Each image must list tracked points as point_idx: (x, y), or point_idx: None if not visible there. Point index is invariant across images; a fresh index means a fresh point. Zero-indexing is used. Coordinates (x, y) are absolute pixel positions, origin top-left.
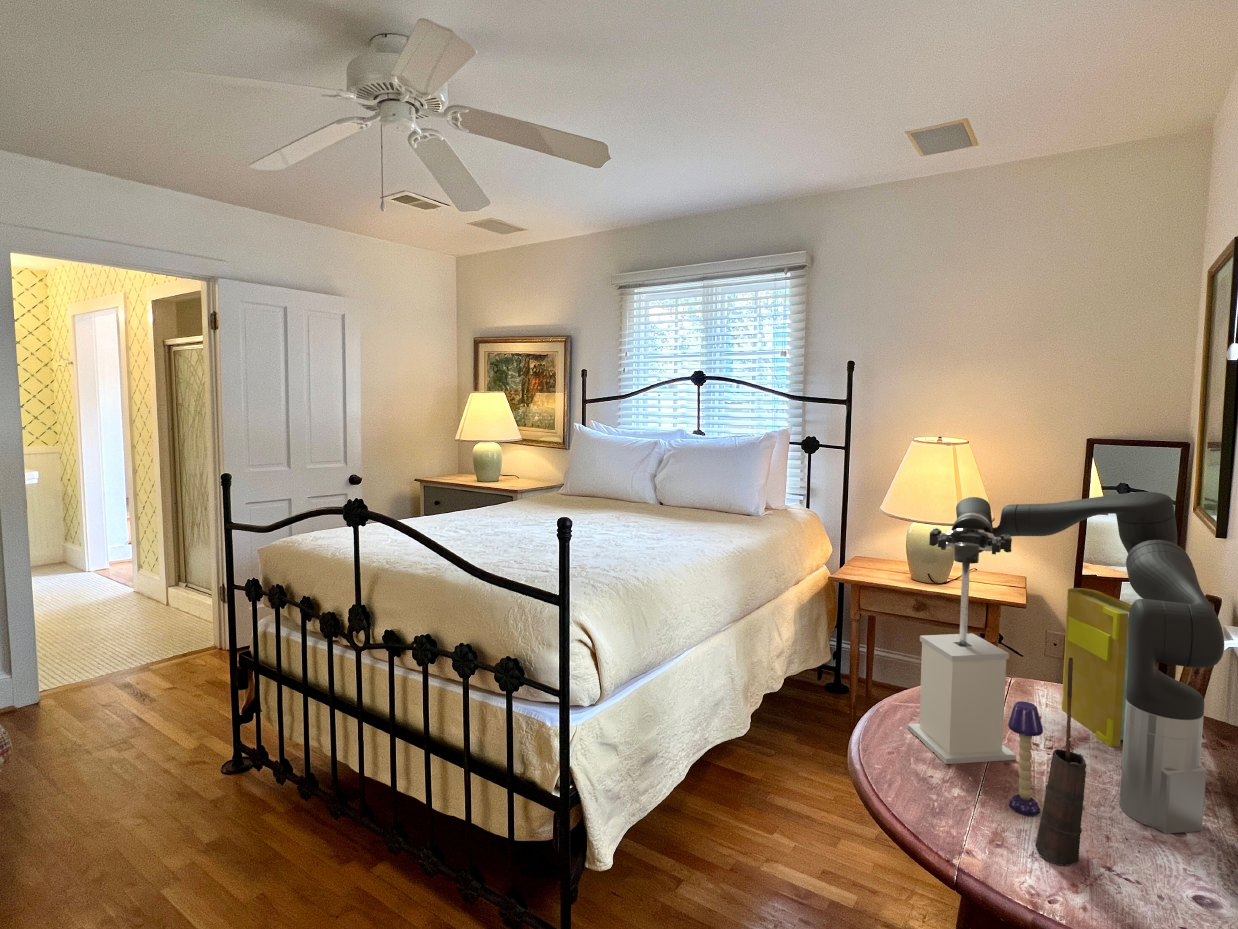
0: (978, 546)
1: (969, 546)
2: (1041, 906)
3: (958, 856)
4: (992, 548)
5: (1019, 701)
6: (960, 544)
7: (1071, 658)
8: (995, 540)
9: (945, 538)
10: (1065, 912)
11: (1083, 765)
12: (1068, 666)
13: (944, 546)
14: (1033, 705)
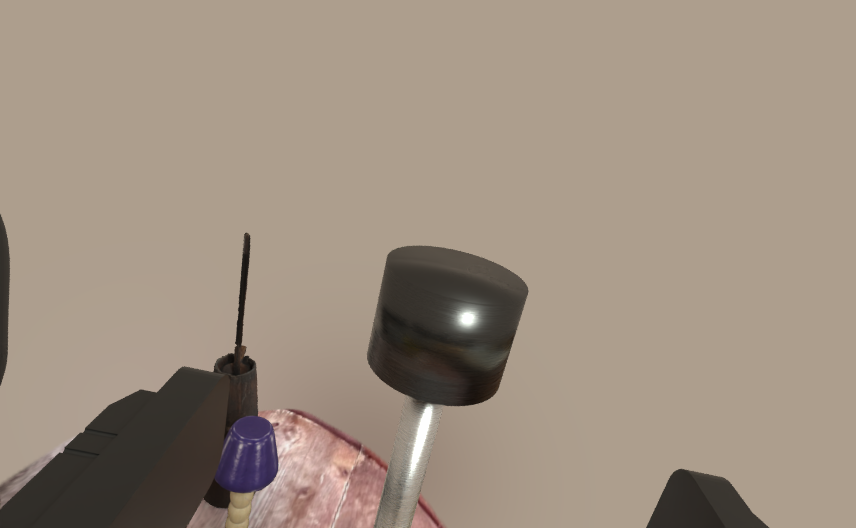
0: (392, 251)
1: (440, 251)
2: (287, 418)
3: (357, 464)
4: (220, 414)
5: (259, 438)
6: (491, 274)
7: (247, 233)
8: (88, 484)
9: (701, 486)
10: (267, 415)
11: (223, 358)
12: (249, 247)
13: (655, 517)
14: (237, 425)
